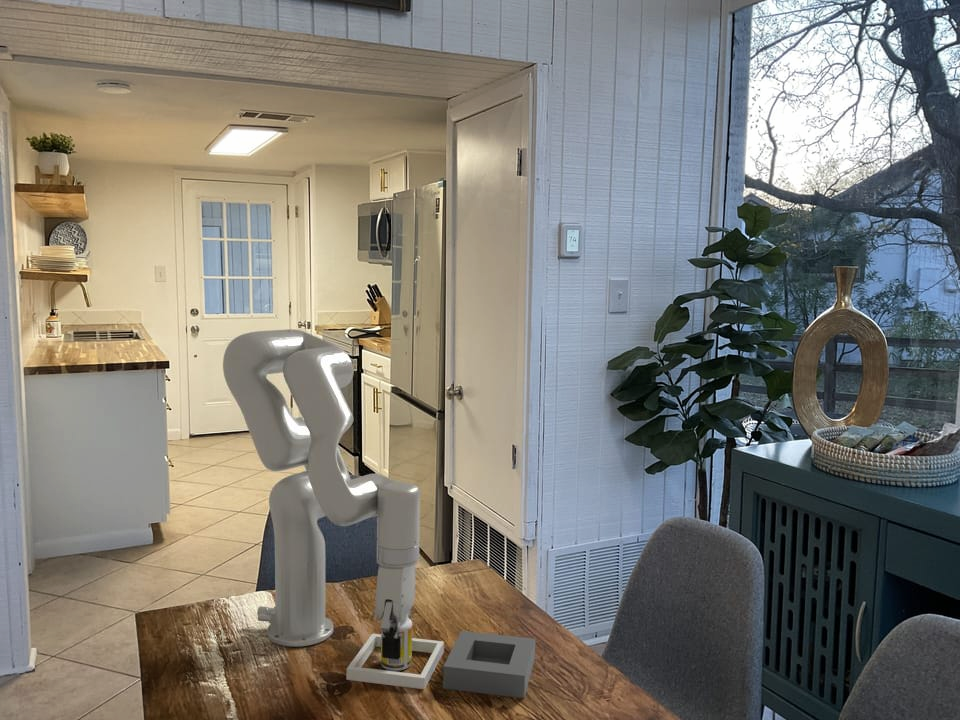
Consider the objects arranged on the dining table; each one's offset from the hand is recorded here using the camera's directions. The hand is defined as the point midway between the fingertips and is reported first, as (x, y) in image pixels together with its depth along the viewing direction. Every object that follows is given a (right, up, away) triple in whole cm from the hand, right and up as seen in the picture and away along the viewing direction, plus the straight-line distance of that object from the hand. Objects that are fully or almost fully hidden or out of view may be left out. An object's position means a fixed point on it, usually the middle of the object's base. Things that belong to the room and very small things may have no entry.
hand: (396, 648), depth 145 cm
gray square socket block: (+17, -4, -2) cm, 17 cm away
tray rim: (0, -3, 0) cm, 3 cm away
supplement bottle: (0, -3, 0) cm, 3 cm away
